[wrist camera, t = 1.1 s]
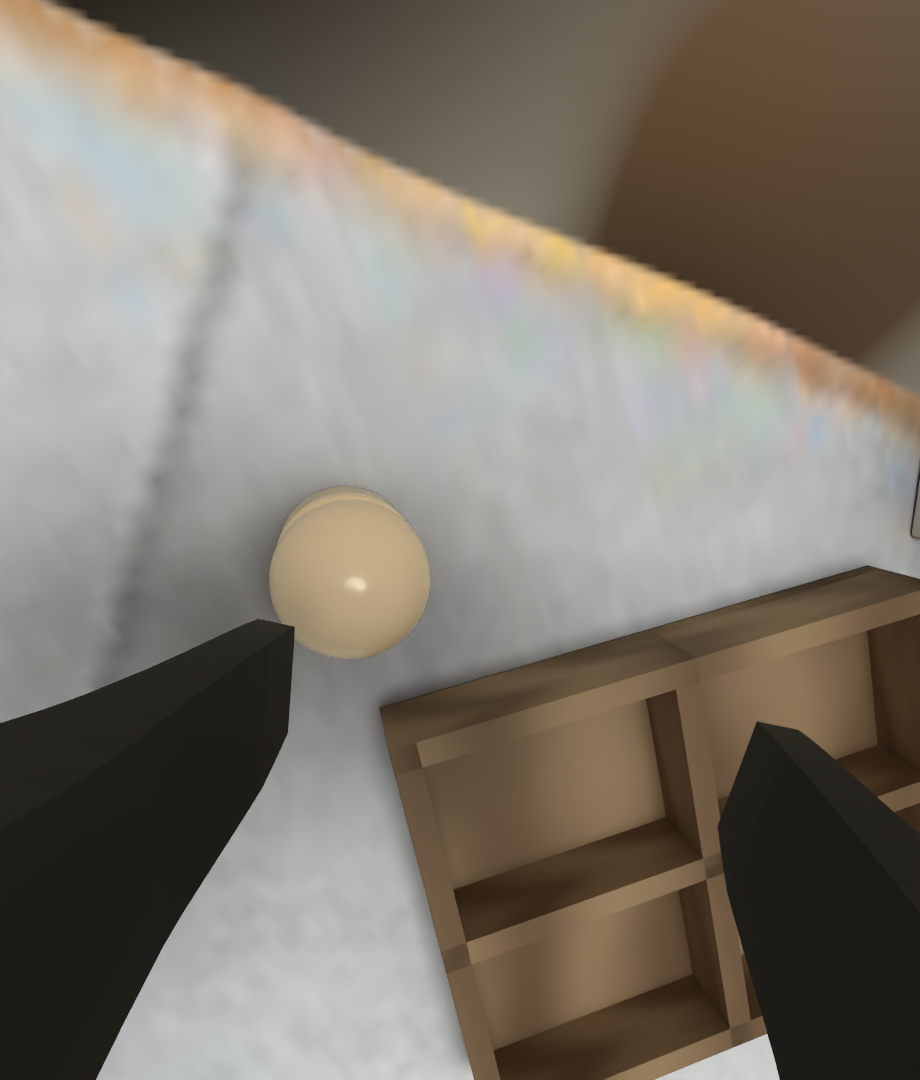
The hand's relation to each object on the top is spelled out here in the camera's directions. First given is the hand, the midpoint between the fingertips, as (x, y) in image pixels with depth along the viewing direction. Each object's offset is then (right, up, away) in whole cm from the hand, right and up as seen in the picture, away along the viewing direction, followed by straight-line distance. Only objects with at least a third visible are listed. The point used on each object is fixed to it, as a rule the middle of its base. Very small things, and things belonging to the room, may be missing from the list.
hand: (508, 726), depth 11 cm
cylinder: (-4, +3, +10) cm, 12 cm away
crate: (+7, -7, +14) cm, 18 cm away
